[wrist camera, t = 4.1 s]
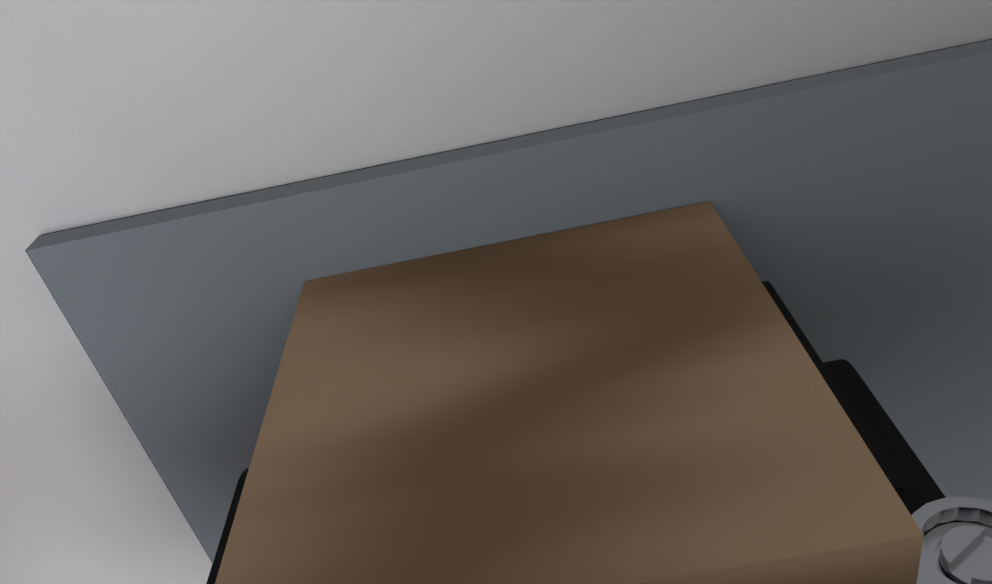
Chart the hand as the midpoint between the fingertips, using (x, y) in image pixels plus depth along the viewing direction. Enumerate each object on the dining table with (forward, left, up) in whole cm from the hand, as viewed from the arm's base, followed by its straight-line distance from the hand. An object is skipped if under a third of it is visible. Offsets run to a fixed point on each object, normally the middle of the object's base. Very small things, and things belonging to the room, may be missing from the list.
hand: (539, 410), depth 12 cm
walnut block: (0, 0, 0) cm, 0 cm away
